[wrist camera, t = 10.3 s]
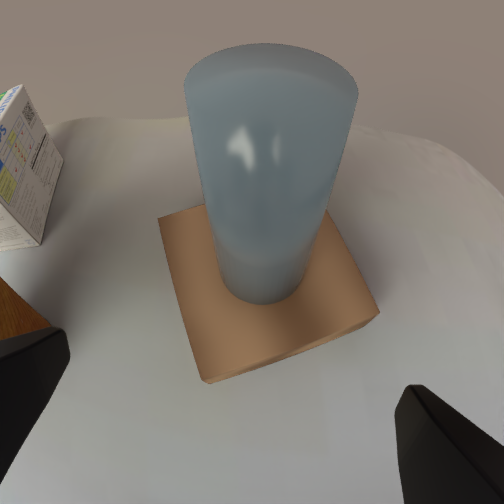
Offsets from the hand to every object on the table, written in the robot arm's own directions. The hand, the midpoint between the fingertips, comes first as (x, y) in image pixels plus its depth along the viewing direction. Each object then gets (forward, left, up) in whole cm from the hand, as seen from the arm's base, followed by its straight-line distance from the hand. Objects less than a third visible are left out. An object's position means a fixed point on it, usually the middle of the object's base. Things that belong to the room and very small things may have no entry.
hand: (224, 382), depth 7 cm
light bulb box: (-15, +22, -13) cm, 30 cm away
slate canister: (+4, +7, -10) cm, 13 cm away
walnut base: (+4, +7, -13) cm, 15 cm away
